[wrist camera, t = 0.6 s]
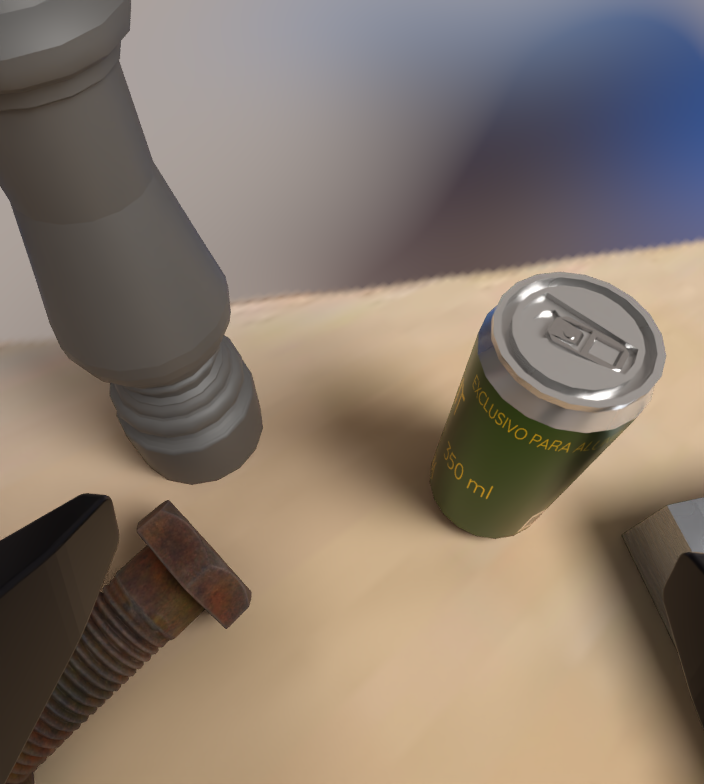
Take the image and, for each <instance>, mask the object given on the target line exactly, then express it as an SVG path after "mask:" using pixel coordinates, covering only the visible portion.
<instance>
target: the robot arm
mask: <svg viewBox="0 0 704 784" xmlns="http://www.w3.org/2000/svg"><path fill="white" fill-rule="evenodd" d="M118 542H119V530H118V526H117V521H116V516H115V511H114V507H113V503H112V500H111V498H110V497H109V496H106V495H100V494H89V493H86V494H81V495H79V496H77V497H75V498H74V499H72V500H70V501H68V502H67V503H65V504H63V505H61V506H60V507H58V508H56V509H54V510H53V511H51V512H49V513H47V514H46V515H44V516H42V517H41V518H39V519H37V520H35V521H34V522H32V523H30V524H28V525H27V526H25V527H23V528H21V529H20V530H18V531H16V532H14V533H13V534H11V535H9V536H8V537H6V538H4V539H2V540H1V541H0V784H5V782H6V781H7V779H8V777H9V775H10V773H11V771H12V769H13V767H14V765H15V763H16V761H17V760H18V758H19V756H20V754H21V752H22V750H23V748H24V746H25V744H26V742H27V740H28V738H29V737H30V735H31V733H32V731H33V729H34V727H35V725H36V723H37V721H38V719H39V717H40V716H41V714H42V712H43V710H44V708H45V706H46V704H47V702H48V700H49V698H50V696H51V695H52V693H53V691H54V689H55V687H56V685H57V683H58V681H59V679H60V677H61V675H62V674H63V672H64V670H65V668H66V666H67V664H68V662H69V660H70V658H71V656H72V654H73V653H74V650H75V648H76V646H77V644H78V642H79V640H80V638H81V636H82V634H83V631H84V629H85V627H86V625H87V622H88V620H89V617H90V615H91V612H92V610H93V607H94V605H95V602H96V600H97V597H98V594H99V592H100V589H101V587H102V584H103V582H104V579H105V577H106V574H107V572H108V569H109V567H110V564H111V562H112V559H113V557H114V554H115V552H116V549H117V546H118ZM663 602H664V606H665V610H666V613H667V617H668V620H669V624H670V627H671V631H672V634H673V637H674V641H675V644H676V648H677V651H678V655H679V658H680V662H681V665H682V669H683V672H684V675H685V679H686V682H687V686H688V689H689V692H690V695H691V698H692V701H693V704H694V707H695V709H696V712H697V715H698V717H699V720H700V723H701V725H702V728H703V730H704V553H700V552H690V551H688V552H684V553H683V554H681V555H680V556H679V558H678V560H677V562H676V564H675V566H674V568H673V570H672V572H671V574H670V575H669V577H668V579H667V581H666V583H665V585H664V589H663Z"/></svg>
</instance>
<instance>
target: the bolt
mask: <svg viewBox="0 0 704 784" xmlns="http://www.w3.org/2000/svg"><path fill="white" fill-rule="evenodd" d="M137 533H138V534H139V536H140V537H141V538H142V539H143V540H144V542H145V543H146V544H147V546H146V547H145V548H144V549H143V550H141V551H140V552H139V553H138V554H137V555H136V556H135V557H134V558H133V559H131V560H130V561H129V562H128V563H127V564H126V565H125V566H124V567H122V568H121V569H120V570H119V571H118V572H117V573H116V575H115V577H114V579H113V580H111V582H110V584H109V585H106V586H104V588H103V592H104V593H102V592H99V594H98V597H97V600H96V602H95V605H94V607H93V610H92V612H91V615H90V617H89V620H88V622H87V625H86V627H85V629H84V631H83V634H82V636H81V638H80V640H79V642H78V644H77V646H76V648H75V650H74V653H73V654H72V656H71V658H70V660H69V662H68V664H67V666H66V668H65V670H64V672H63V674H62V675H61V677H60V679H59V681H58V683H57V685H56V687H55V689H54V691H53V693H52V695H51V696H50V698H49V700H48V702H47V704H46V706H45V708H44V710H43V712H42V714H41V716H40V717H39V719H38V721H37V723H36V725H35V727H34V729H33V731H32V733H31V735H30V737H29V738H28V740H27V742H26V744H25V746H24V748H23V750H22V752H21V754H20V756H19V758H18V760H17V761H16V763H15V765H14V767H13V769H12V771H11V773H10V775H9V777H8V779H7V781H6V782H5V784H34V774H33V772H34V771H35V770H36V769H37V767H38V766H39V765H40V764H42V763H43V762H44V761H45V760H46V758H47V756H50V755H51V754H52V753H53V752H54V751H55V749H56V748H57V747H59V746H60V745H61V744H62V743H63V742H64V740H66V739H67V738H68V737H69V736H70V735H71V734H72V733H73V731H74V730H77V729H78V728H79V727H80V724H81V723H82V722H85V721H87V719H88V717H89V715H91V714H94V713H95V712H96V710H97V707H101V706H102V705H103V704H104V703H105V699H109V698H110V697H111V696H112V695H113V691H118V690H119V688H120V687H121V684H124V683H125V682H127V680H128V679H129V677H130V676H133V675H134V674H135V673H136V669H140V668H141V667H142V666H143V665H144V662H145V661H149V660H150V658H151V654H156V653H157V652H158V647H163V646H164V645H165V644H166V643H167V642H168V641H169V640H171V639H174V638H176V637H177V636H178V635H179V634H180V633H181V632H182V631H183V630H184V629H185V628H186V627H187V626H188V625H189V624H190V623H191V622H192V621H193V620H194V619H195V618H196V617H197V616H198V615H199V614H200V613H201V612H202V611H203V610H205V609H206V610H207V611H208V612H209V613H210V614H211V615H212V616H213V617H214V618H215V619H216V620H217V621H218V622H219V623H220V624H221V625H222V626H223V627H224V628H225V629H227V628H228V627H229V626H230V625H231V624H232V623H233V622H234V621H235V620H236V619H237V618H238V617H239V616H240V615H241V614H242V613H243V612H244V611H245V610H246V609H247V608H248V607H249V605H250V601H251V591H250V590H249V588H248V587H247V586H246V585H245V584H244V583H243V582H242V581H241V580H240V578H239V577H238V576H237V575H236V574H235V573H234V572H233V571H232V570H231V568H230V567H229V566H228V565H227V564H226V563H225V562H224V561H223V559H222V558H221V557H220V556H219V555H218V553H217V552H216V551H215V550H214V549H213V548H212V547H211V546H210V545H209V544H208V542H207V541H206V540H205V539H204V538H203V537H202V536H201V535H200V534H199V533H198V531H197V530H196V529H195V528H194V527H193V526H192V525H191V524H190V523H189V521H188V520H187V519H186V518H185V517H184V516H183V515H182V514H181V513H180V512H179V511H178V509H177V508H176V507H175V506H174V505H173V504H172V503H171V502H170V501H169V500H167V501H165V502H163V503H162V504H160V505H159V506H158V507H157V508H155V509H154V510H153V511H152V512H151V513H149V514H148V515H147V516H146V517H145V518H143V519H142V520H141V521H140V522H139V523H138V526H137Z"/></svg>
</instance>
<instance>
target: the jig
mask: <svg viewBox="0 0 704 784" xmlns="http://www.w3.org/2000/svg"><path fill="white" fill-rule="evenodd" d="M622 537H623V539H624V541H625V543H626V545H627V547H628V549H629V551H630V553H631V555H632V558H633V560H634V562H635V564H636V566H637V568H638V570H639V572H640V574H641V576H642V578H643V580H644V582H645V585H646V587H647V589H648V591H649V593H650V595H651V597H652V599H653V601H654V603H655V605H656V607H657V609H658V612H659V614H660V616H661V618H662V620H663V622H664V624H665V626H666V628H667V630H668V632H669V634H670V636H671V639H672V641H673V643H674V645H675V647H676V644H675V641H674V637H673V634H672V631H671V627H670V624H669V620H668V617H667V613H666V610H665V606H664V602H663V589H664V585H665V583H666V581H667V579H668V577H669V575H670V574H671V572H672V570H673V568H674V566H675V564H676V562H677V560H678V558H679V556H680V555H681V554H683V553H684V552H688V551H690V552H700V553H704V497H703V498H698V499H694V500H689V501H684V502H680V503H675V504H670V505H667V506H665V507H664V508H662V509H661V510H659V511H657V512H656V513H654V514H653V515H651V516H650V517H648V518H647V519H645V520H644V521H642V522H641V523H639V524H638V525H636V526H634V527H633V528H631V529H630V530H628V531H627V532H625V533H624V534H622ZM676 649H677V648H676Z"/></svg>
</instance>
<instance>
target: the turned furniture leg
mask: <svg viewBox="0 0 704 784" xmlns="http://www.w3.org/2000/svg"><path fill="white" fill-rule="evenodd" d="M130 14H131V0H0V186H1V188H2V190H3V191H4V193H5V194H6V196H7V197H8V199H9V200H10V203H11V206H12V209H13V212H14V215H15V218H16V221H17V224H18V227H19V230H20V233H21V236H22V239H23V242H24V245H25V248H26V251H27V254H28V257H29V260H30V263H31V266H32V269H33V272H34V275H35V278H36V281H37V285H38V288H39V291H40V294H41V297H42V300H43V304H44V307H45V310H46V313H47V316H48V319H49V322H50V325H51V327H52V329H53V331H54V334H55V336H56V338H57V340H58V342H59V344H60V347H61V348H62V350H63V351H64V352H65V354H66V355H67V356H68V358H69V359H70V360H72V361H73V362H75V363H76V364H78V365H79V366H81V367H82V368H84V369H85V370H86V371H88V372H89V373H91V374H92V375H94V376H95V377H97V378H99V379H100V380H102V381H104V382H109V383H110V398H111V400H112V402H113V404H114V406H115V408H116V410H117V417H118V419H119V421H120V423H121V425H122V427H123V429H124V432H125V434H126V436H127V437H128V439H129V440H130V441H131V443H132V444H133V445H134V446H135V448H136V449H137V450H138V452H139V453H140V454H141V456H142V457H143V458H144V460H145V461H146V462H147V464H148V465H149V466H150V467H151V468H152V469H154V470H155V471H157V472H158V473H159V474H161V475H162V476H163V477H165V478H166V479H168V480H172V481H177V482H181V483H186V484H191V485H193V484H198V483H204V482H210V481H216V480H219V479H221V478H222V477H224V476H226V475H228V474H229V473H231V472H233V471H235V470H237V469H238V468H240V467H241V466H242V465H243V463H244V462H245V461H246V460H247V459H248V458H249V456H250V455H251V454H252V453H253V452H254V451H255V449H256V447H257V444H258V441H259V438H260V435H261V432H262V429H263V426H262V417H261V409H260V404H259V401H258V397H257V393H256V389H255V385H254V381H253V377H252V374H251V372H250V370H249V369H248V367H247V366H246V364H245V363H244V361H243V360H242V357H241V355H240V354H239V352H238V351H237V349H236V348H235V346H234V345H233V343H232V342H231V340H230V339H229V338H228V337H226V336H225V335H224V334H225V331H226V329H227V327H228V324H229V321H230V313H231V311H230V300H229V291H228V285H227V281H226V277H225V275H224V274H223V272H222V270H221V269H220V267H219V266H218V264H217V262H216V261H215V259H214V258H213V256H212V255H211V253H210V251H209V250H208V248H207V247H206V245H205V244H204V242H203V240H202V239H201V237H200V236H199V234H198V233H197V231H196V229H195V228H194V226H193V225H192V223H191V221H190V220H189V218H188V217H187V215H186V213H185V212H184V210H183V209H182V207H181V205H180V204H179V202H178V201H177V199H176V197H175V196H174V194H173V193H172V191H171V189H170V188H169V186H168V185H167V183H166V181H165V180H164V178H163V176H162V175H161V173H160V172H159V170H158V169H157V167H156V165H155V164H154V162H153V160H152V157H151V154H150V151H149V148H148V145H147V142H146V139H145V136H144V133H143V130H142V128H141V124H140V121H139V119H138V115H137V112H136V110H135V106H134V104H133V101H132V98H131V95H130V92H129V89H128V86H127V83H126V80H125V77H124V74H123V71H122V68H121V65H120V62H119V59H120V47H121V40H122V39H123V38H124V36H125V35H126V34H127V33H128V32H129V31H130Z"/></svg>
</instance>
